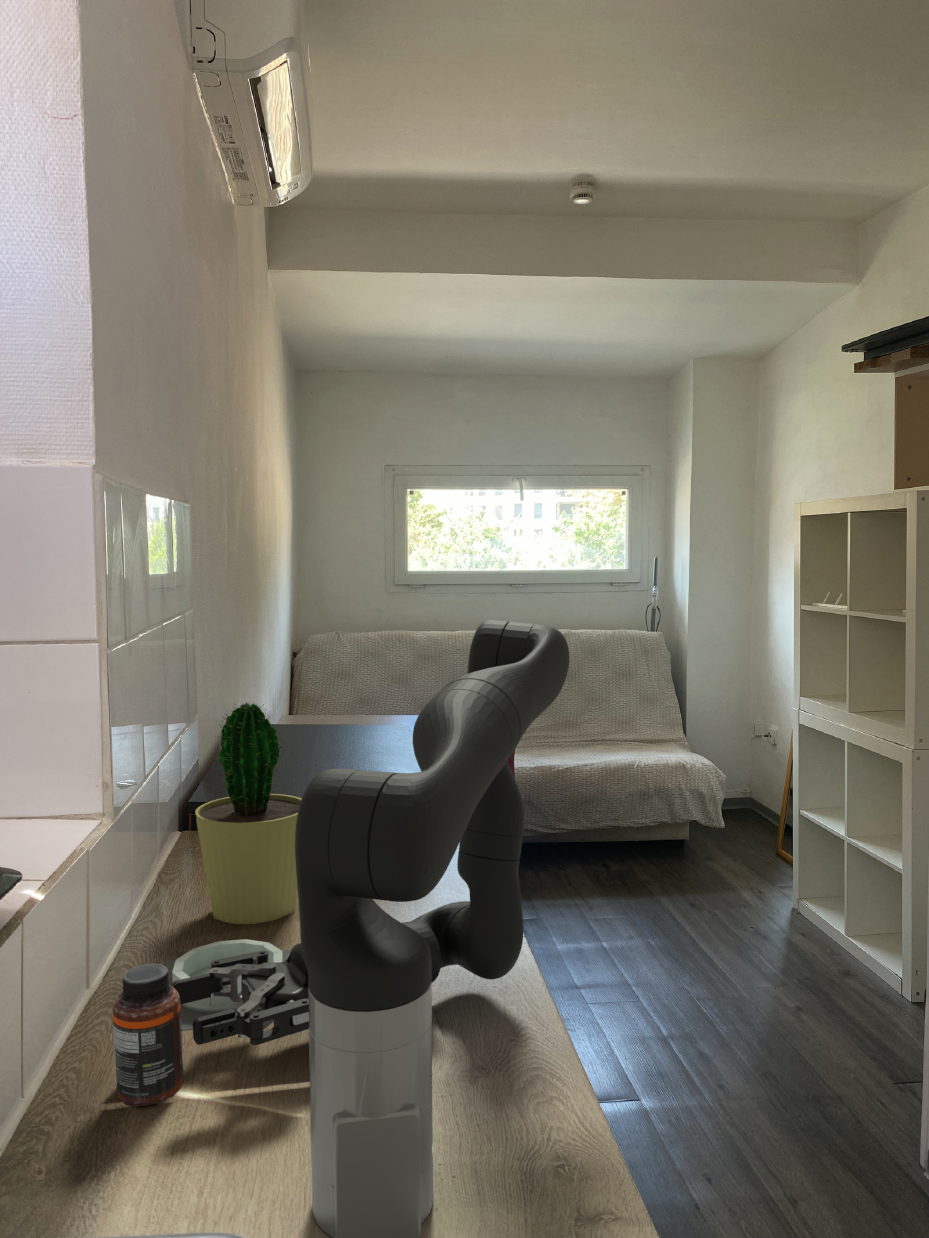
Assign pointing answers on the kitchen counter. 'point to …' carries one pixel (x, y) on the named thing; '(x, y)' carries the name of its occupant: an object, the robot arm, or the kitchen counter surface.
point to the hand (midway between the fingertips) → (182, 1012)
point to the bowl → (201, 960)
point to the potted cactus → (249, 826)
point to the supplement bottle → (147, 1037)
